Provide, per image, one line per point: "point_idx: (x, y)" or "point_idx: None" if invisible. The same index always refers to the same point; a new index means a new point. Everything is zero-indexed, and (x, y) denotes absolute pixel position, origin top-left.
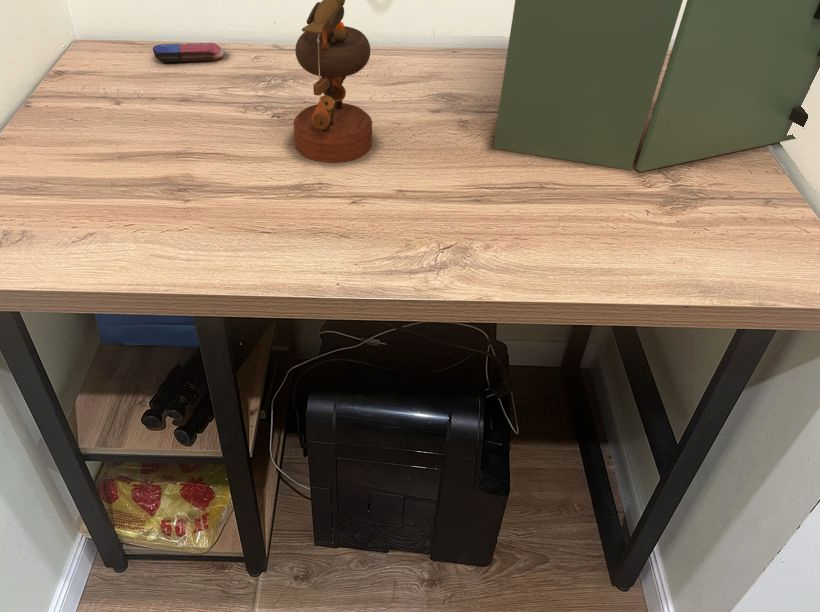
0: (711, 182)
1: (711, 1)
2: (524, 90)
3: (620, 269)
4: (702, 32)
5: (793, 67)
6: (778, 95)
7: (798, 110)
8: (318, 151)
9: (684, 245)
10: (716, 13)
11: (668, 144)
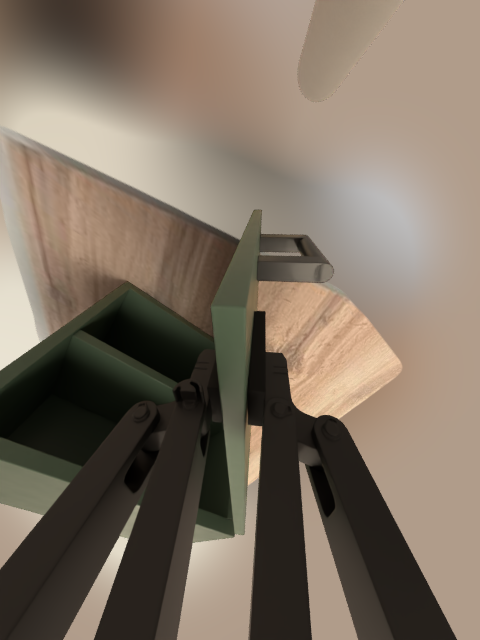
0: (284, 332)
1: (247, 480)
2: None
3: (322, 409)
4: (249, 447)
5: (256, 299)
6: (257, 289)
7: (267, 251)
8: None
9: (326, 382)
10: (248, 461)
11: None
